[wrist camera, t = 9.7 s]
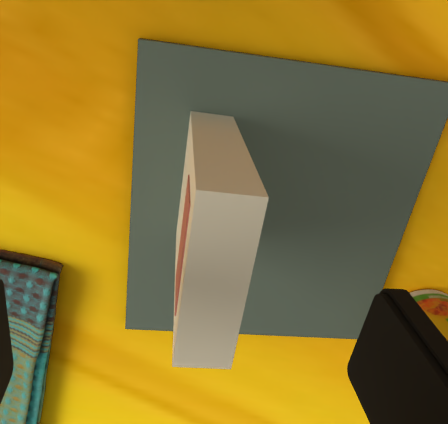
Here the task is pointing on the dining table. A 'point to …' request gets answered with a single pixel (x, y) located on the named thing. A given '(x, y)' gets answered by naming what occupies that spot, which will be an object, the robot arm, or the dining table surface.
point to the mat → (284, 180)
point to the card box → (214, 242)
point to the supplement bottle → (434, 307)
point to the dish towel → (28, 332)
